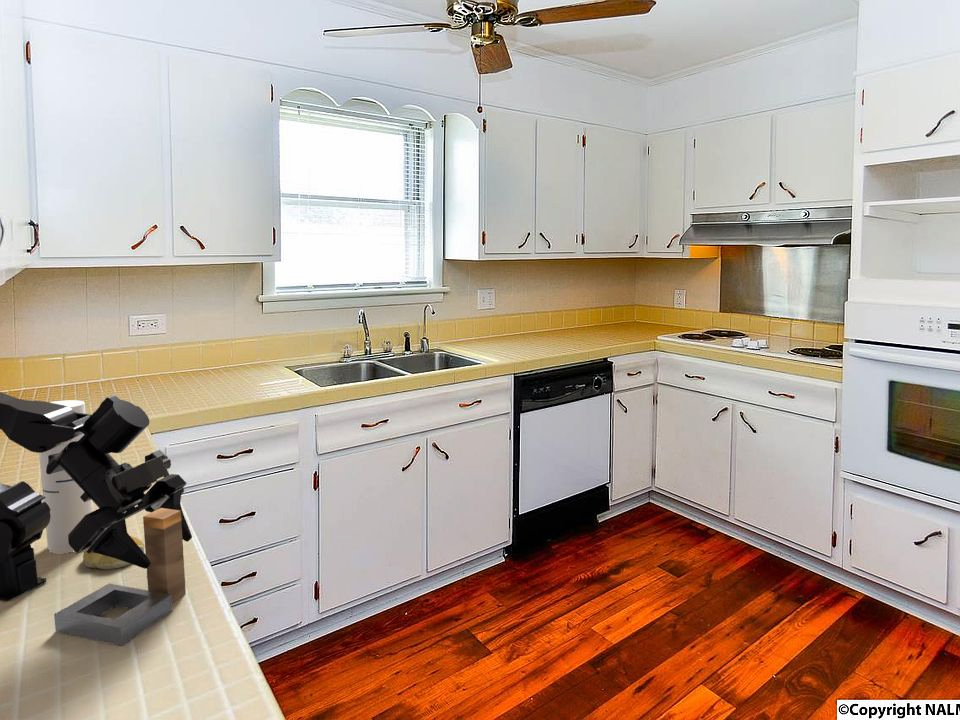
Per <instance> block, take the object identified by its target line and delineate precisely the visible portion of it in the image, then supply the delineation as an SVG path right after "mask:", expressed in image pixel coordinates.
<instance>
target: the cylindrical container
mask: <svg viewBox="0 0 960 720" xmlns="http://www.w3.org/2000/svg"><path fill="white" fill-rule="evenodd" d="M49 402H50V403H55V404H60V405H64V406H68V407H69V408H71V409H73V410H74V411H75V412H77V413H84V414H87V412H86V404H85V401H83V400H78V399H77V400H76V399H74V400H73V399H70V400H69V399H68V400H57V401H56V400H55V401H49ZM83 436H84V434H81V435H79V436H77V437H75V438H73V439H72V440H70V441H68V442H66V443H64V444H61V445H59V446H57V447H55V448H53V449H51V450H48V451H46V452H42V453H38V455H39V457H38V458H39V469H40V477H41V478H40V479H41V485H42V486H41V488H42V489H41V490H42V495H43V496H45V499H43V501H45V502H46V503H47V504H48V506H49V507H50V522H49V524H48V526H47V527H46V528H45V532H46V542H47V551H48V550H49V551H51V552H53V553H52V554H55V553H66V554H69V553H68V552H73V551H74V550H73V548H72V547H71V546H70V545H69V541H68V534H69V533H70V532H71V531H72V530H73V529H74V528H75V526H76V525H77V524H78V523H79V522H80V521H81V520H82V519H83V517H84V516H85V515H87V514H89V513H91V512H93V511H94V502H93V501H92V500H89V501H86V502H84V501H83V500H82V499H81V498H80V497H81V495H82V494H83V493H84V491H83V490H82V489H81V488H80V487H79V486H78V485H77V484H76V482H75V481H74V480H73V479H72V478H71V477H70V476H69V475H68V474H67V473H66V472H65V470H63V471H60V472H56V473H52V474H47V473H46V468H47V465H48V456H49V455H52V454H57V453H60V452H61V451H62V450H63V449H64V448H65V447H66V446H67V445H68V444H69V443H70V442H73V441H79V440H80V439H81V438H82V437H83ZM49 551H48V552H49ZM51 552H50V553H51ZM73 553H74V552H73Z"/></svg>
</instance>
